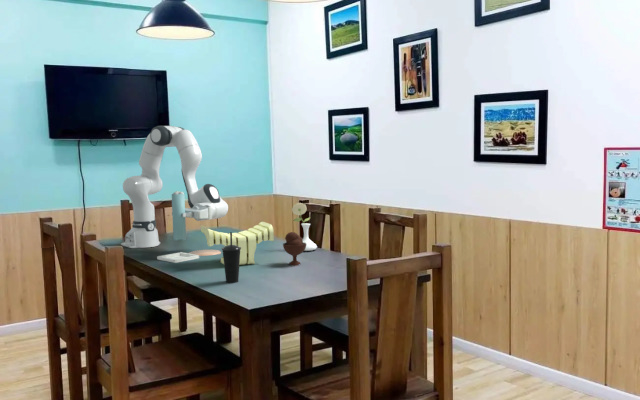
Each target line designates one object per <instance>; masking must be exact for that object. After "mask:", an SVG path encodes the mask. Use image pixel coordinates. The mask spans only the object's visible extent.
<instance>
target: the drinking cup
mask: <svg viewBox="0 0 640 400" xmlns="http://www.w3.org/2000/svg"><path fill="white" fill-rule="evenodd" d="M229 233H230V245H227V246H225V245H224V247H223V246H222V248H221V252H222V257H223V259H224V264H223V265H224V275H225V282H226V283H228V284H234V283H238V282H239V278H240V276H239V275H240V265H239V263H240V249H241V247H238V246H236V245H232V233H233V232H232V231H230V232H229Z"/></svg>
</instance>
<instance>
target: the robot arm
mask: <svg viewBox="0 0 640 400" xmlns="http://www.w3.org/2000/svg"><path fill="white" fill-rule="evenodd" d="M171 147H172V148H173V147H175V148H176V150H177V153H178V155H179V160H180V163H181V175H182V180H183V183H184V187H185V191H186V194H187V204H188V206H189V207H185V213H182V214H181V216H182V217H185V218H191V219H194V220H195V221H197V222H201V221H202V222H203V221H208V220H217V219H221V218H223V217H226V215H227V214H228V211H229V205H228V203H227V202H226V201H225V200H224V199H222V197H221V195H220V193H219V189H218V188H217V186H215V185H214V184H211V183H205V184H204V185H203V186H201V187H200V188H198V184H197V180H196V173H197V170H198V168H199V166H200V164H201V162H202V159H203V155H202V151H201V147H200V145H199V143H198V140H197V139H196V138H195V136H194V134H193V132H192V131H191V130H189V129H185V128H183V127H180V126H174V125H157V126H154V127H153V128H152V129H151V131H150V133H149V134H148V135H147V136H146V139H145V140H144V144H143V146H142V150H141V153H140V157H139V160H138V165H139V166H140V167H141V175H132V176H130V177H127V178H125V179H124V181H123V183H122V190H123V192H124V193H125V194H126V195H127V196H128V198H129V199H130V201H131V204H132V209H133V221H132V222H131V225H132V226H131V229H130V230H129V231H128V232H126V233H125V237H124V239H125V241H124V242H121V243H120V245H121V246H123V247H126V248H129V249H140V248H142V249H144V248H151V247H152V248H153V247H157V246H159V245H160V244H161V241H159V239H160V238H159V233H158V229H157V228H156V227H157V222H156V221H157V220H156V217H155V216H156V215H155V206H154V203H152V202H151V201H150V199H149V195H155V194H157V193H159V192H160V191H161V190H162V189H163V183H164V182H163V180H162V178H161V177H160V168H161V164H162V159H163V156H164V152H165V149H166V148H171Z"/></svg>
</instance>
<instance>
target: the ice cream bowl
mask: <svg viewBox="0 0 640 400" xmlns="http://www.w3.org/2000/svg"><path fill="white" fill-rule="evenodd" d="M284 240H285V241H286V242H284V243H282V246H283V249H284V252H286V253H287V255H288V254H289V255H290V256H292V260H291V261H290V262H289V263H288V265H289V264H290V266H299V265H298V264H300V265H301V262H300V261H298V260H297V258H298V256H299V255H301V254H302V253H304V252H305V251H304V250H305V248H306V243H303V237H302V236H300V235H299V234H298V233H296V232H294V231H291V232H288V233H287V234H286V235H285V237H284Z"/></svg>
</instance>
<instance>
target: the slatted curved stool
mask: <svg viewBox="0 0 640 400" xmlns="http://www.w3.org/2000/svg"><path fill="white" fill-rule="evenodd" d="M200 231H201V233H202V234H204V236H205V238H206V244H207V246H208V247H212V246H214V245H217V246H218V245H222V246H224V247H225V246H227V245H230V232H229V233H228V232H221V231H216V230H212V229H210V228H207V227H205V226H204V225H200ZM274 232H275V231H274V227H273V225H272V224H271V223H268V222H265V221H261V222H259V223H258V224H256V225H254V226H252V227H250V228H247V230H246V229H245V230H242V231H238V232H232V245H236V246H238V247H241V249H240V263H239V266H245V265H255V263H256V262H255V253H256V249H257V245H259V244H260V243H262V242H263V241H264V242H266V241H270V242H274V239H275V236H274V235H275V234H274ZM219 263H221V264H223V265H224V259H223V256H222V257H221V258H220V260H219Z"/></svg>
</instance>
